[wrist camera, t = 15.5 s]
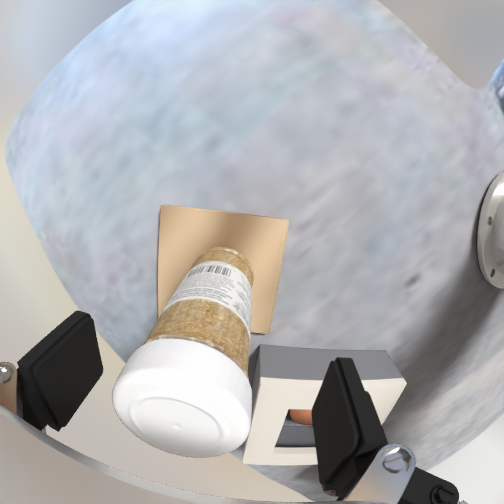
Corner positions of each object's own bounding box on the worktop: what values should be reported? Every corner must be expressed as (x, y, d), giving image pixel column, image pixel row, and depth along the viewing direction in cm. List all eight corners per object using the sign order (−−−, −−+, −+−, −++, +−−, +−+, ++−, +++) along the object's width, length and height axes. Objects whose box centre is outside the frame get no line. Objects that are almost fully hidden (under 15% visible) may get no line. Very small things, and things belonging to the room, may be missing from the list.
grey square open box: (385, 350, 22) (406, 383, 17) (346, 428, 25) (355, 460, 21) (260, 344, 22) (260, 384, 17) (243, 427, 25) (241, 463, 20)
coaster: (287, 219, 19) (288, 221, 19) (268, 330, 22) (269, 334, 21) (163, 204, 19) (161, 205, 18) (160, 314, 21) (158, 317, 21)
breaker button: (340, 383, 23) (344, 394, 21) (327, 413, 24) (329, 424, 22) (294, 382, 23) (296, 394, 21) (284, 413, 24) (285, 424, 22)
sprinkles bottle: (188, 295, 20) (115, 440, 7) (198, 238, 19) (99, 353, 6) (247, 309, 20) (235, 471, 7) (262, 252, 19) (268, 397, 6)
